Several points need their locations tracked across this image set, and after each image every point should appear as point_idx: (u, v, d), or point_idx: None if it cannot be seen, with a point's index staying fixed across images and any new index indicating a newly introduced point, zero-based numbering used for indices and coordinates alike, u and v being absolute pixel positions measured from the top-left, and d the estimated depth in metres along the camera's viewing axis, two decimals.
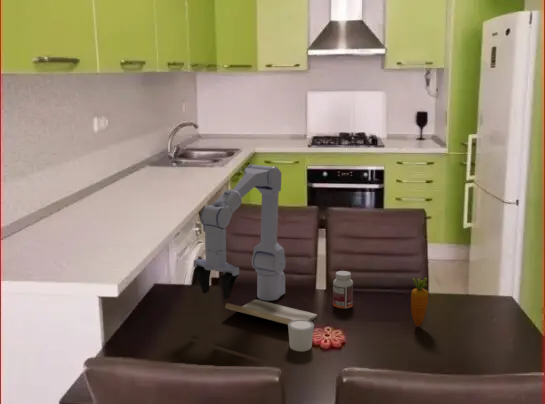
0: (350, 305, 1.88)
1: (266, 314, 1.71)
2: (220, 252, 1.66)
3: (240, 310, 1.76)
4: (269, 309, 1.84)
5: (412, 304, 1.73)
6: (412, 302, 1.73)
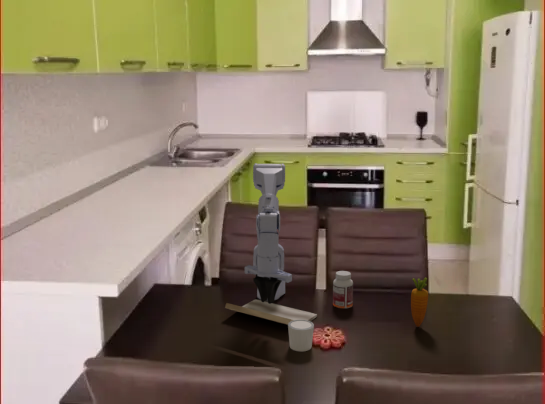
0: (350, 305, 1.88)
1: (266, 314, 1.71)
2: (273, 259, 1.66)
3: (240, 310, 1.76)
4: (269, 309, 1.84)
5: (412, 304, 1.73)
6: (412, 302, 1.73)
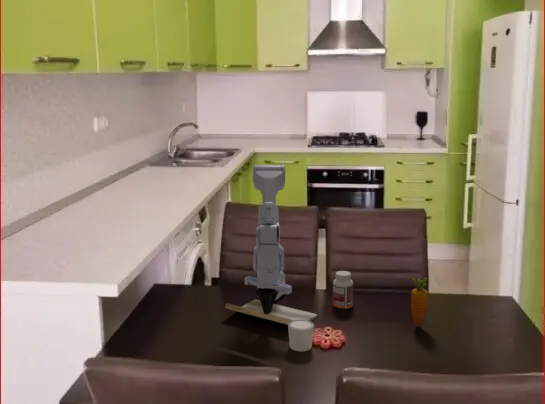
0: (350, 305, 1.88)
1: (266, 314, 1.71)
2: (273, 270, 1.67)
3: (240, 310, 1.76)
4: None
5: (412, 304, 1.73)
6: (412, 302, 1.73)
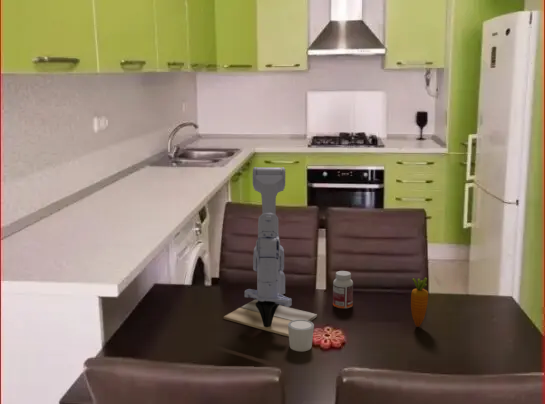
0: (350, 305, 1.88)
1: (264, 328, 1.71)
2: (273, 283, 1.67)
3: None
4: None
5: (412, 304, 1.73)
6: (412, 302, 1.73)
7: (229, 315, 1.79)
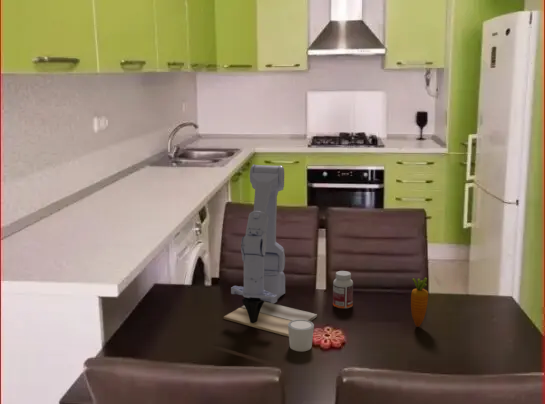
0: (350, 305, 1.88)
1: (264, 328, 1.71)
2: (259, 280, 1.70)
3: None
4: (269, 309, 1.84)
5: (412, 304, 1.73)
6: (412, 302, 1.73)
7: (229, 315, 1.79)
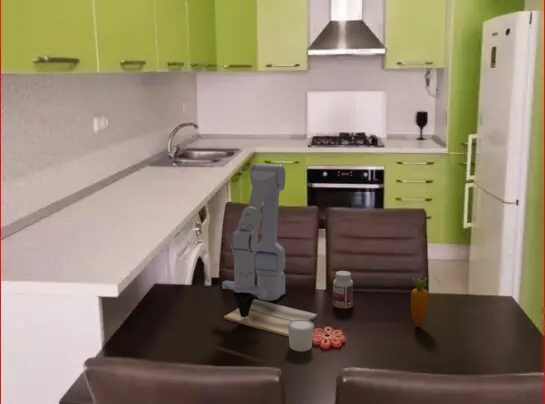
0: (350, 305, 1.88)
1: (264, 328, 1.71)
2: (249, 275, 1.72)
3: None
4: (269, 309, 1.84)
5: (412, 304, 1.73)
6: (412, 302, 1.73)
7: (229, 315, 1.79)
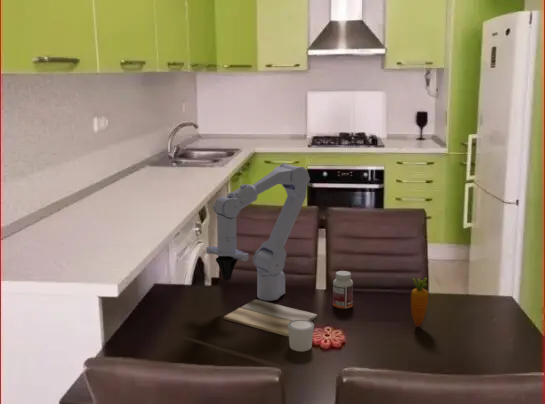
0: (350, 305, 1.88)
1: (264, 328, 1.71)
2: (231, 239, 1.81)
3: None
4: (269, 309, 1.84)
5: (412, 304, 1.73)
6: (412, 302, 1.73)
7: (229, 315, 1.79)
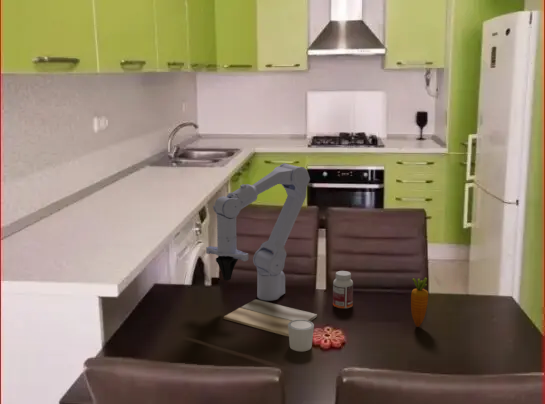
0: (350, 305, 1.88)
1: (264, 328, 1.71)
2: (231, 239, 1.81)
3: None
4: (269, 309, 1.84)
5: (412, 304, 1.73)
6: (412, 302, 1.73)
7: (229, 315, 1.79)
